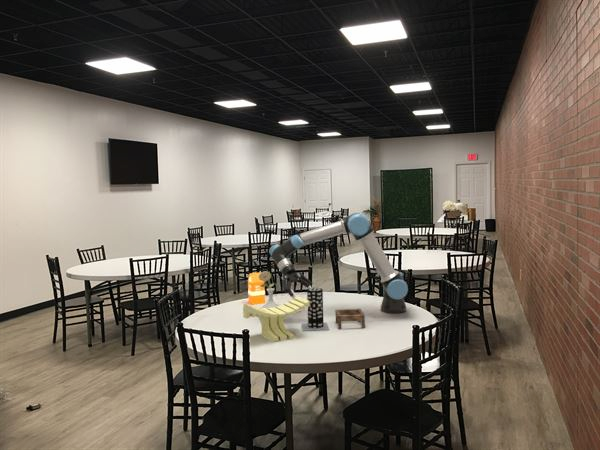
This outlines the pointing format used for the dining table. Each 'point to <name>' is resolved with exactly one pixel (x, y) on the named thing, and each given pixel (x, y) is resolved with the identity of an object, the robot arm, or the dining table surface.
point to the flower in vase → (265, 277)
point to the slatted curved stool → (275, 318)
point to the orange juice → (256, 289)
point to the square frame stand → (349, 316)
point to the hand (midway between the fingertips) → (305, 298)
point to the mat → (306, 328)
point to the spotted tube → (315, 307)
